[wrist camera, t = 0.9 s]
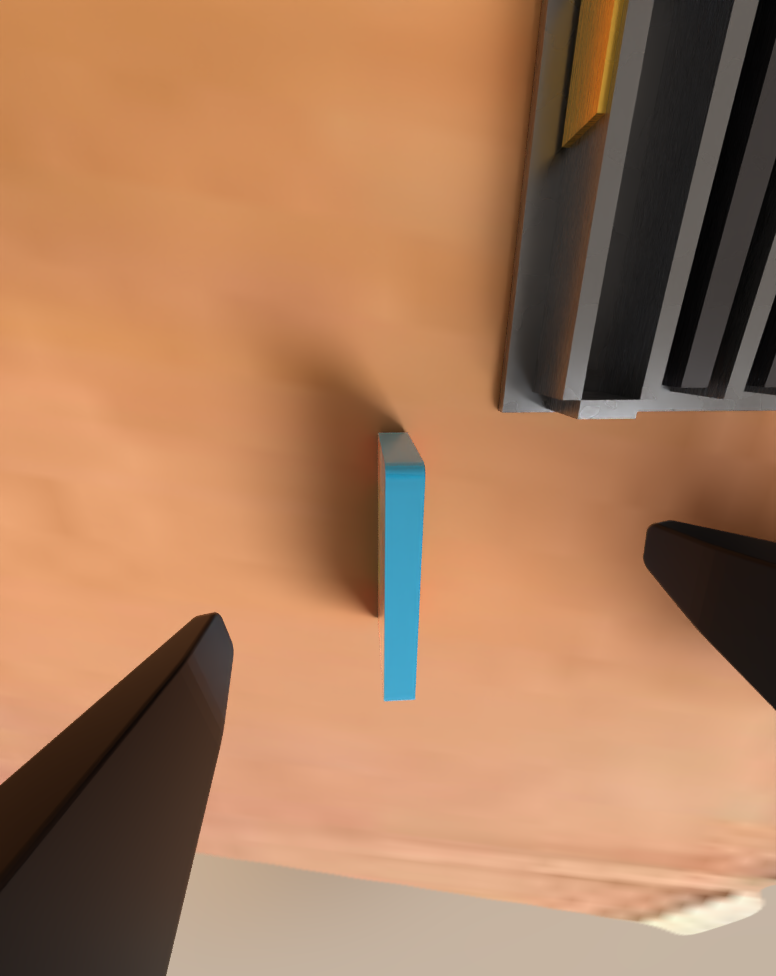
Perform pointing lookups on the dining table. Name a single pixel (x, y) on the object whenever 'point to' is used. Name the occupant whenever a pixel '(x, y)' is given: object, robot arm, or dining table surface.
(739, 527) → the dining table surface
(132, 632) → the dining table surface
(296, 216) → the dining table surface
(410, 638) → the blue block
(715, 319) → the rack
